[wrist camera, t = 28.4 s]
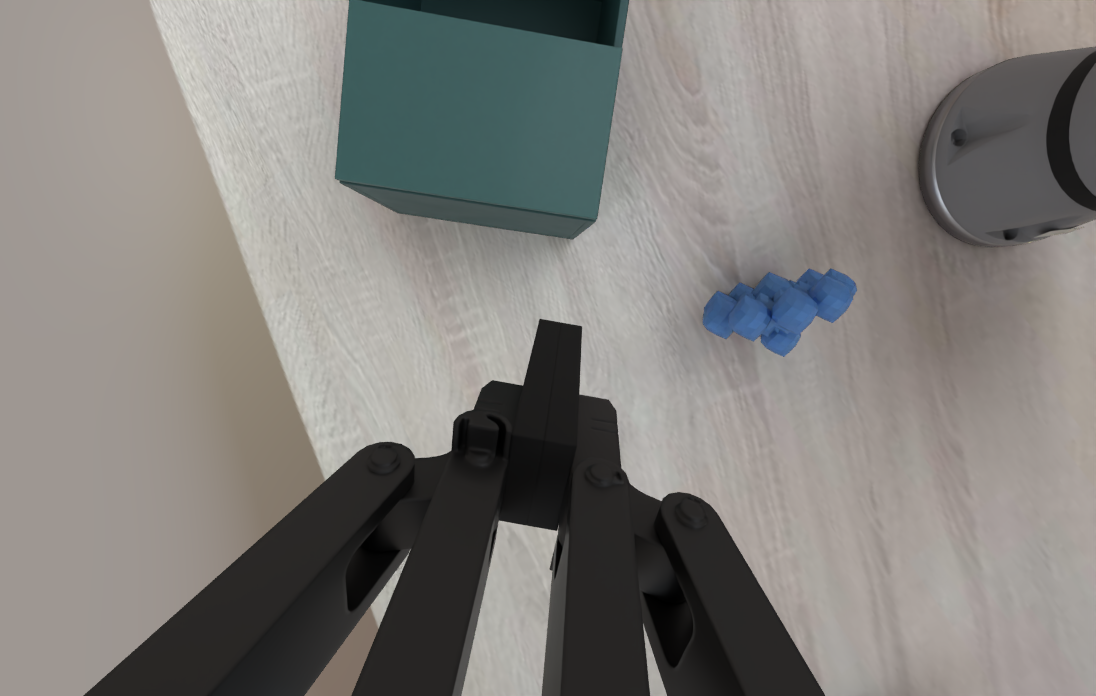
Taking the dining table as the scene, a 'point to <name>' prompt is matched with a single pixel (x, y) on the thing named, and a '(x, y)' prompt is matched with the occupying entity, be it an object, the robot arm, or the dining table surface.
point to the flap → (475, 110)
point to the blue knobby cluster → (779, 307)
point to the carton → (532, 5)
